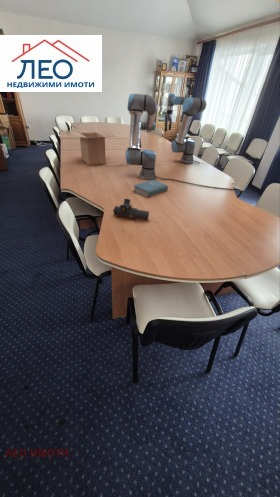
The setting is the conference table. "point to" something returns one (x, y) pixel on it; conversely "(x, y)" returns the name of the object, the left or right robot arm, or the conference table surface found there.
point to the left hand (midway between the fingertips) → (136, 155)
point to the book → (150, 188)
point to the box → (92, 146)
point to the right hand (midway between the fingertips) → (167, 130)
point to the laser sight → (130, 211)
